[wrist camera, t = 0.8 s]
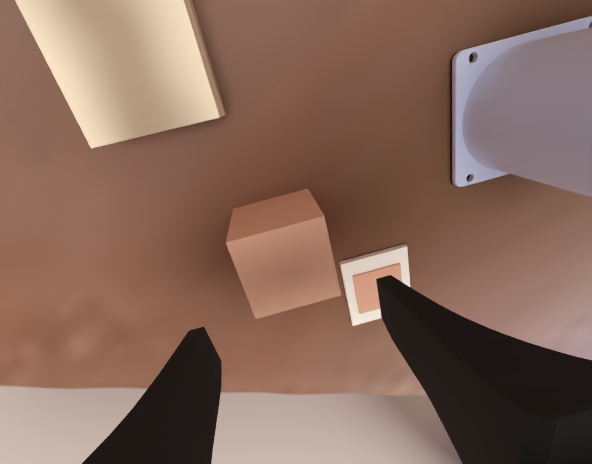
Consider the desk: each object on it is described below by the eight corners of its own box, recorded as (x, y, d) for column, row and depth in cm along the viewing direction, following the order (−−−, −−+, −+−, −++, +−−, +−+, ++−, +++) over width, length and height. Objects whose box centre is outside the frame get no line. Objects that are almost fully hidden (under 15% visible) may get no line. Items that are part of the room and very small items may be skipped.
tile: (404, 243, 21) (408, 247, 21) (409, 306, 24) (413, 311, 23) (339, 261, 21) (341, 266, 21) (351, 322, 24) (353, 327, 23)
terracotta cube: (307, 188, 19) (324, 215, 14) (322, 253, 21) (341, 295, 16) (233, 208, 19) (225, 242, 14) (255, 271, 21) (255, 319, 16)
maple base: (187, -18, 14) (167, -52, 11) (226, 114, 17) (219, 117, 13) (63, 10, 14) (6, -16, 11) (122, 139, 16) (90, 148, 13)
